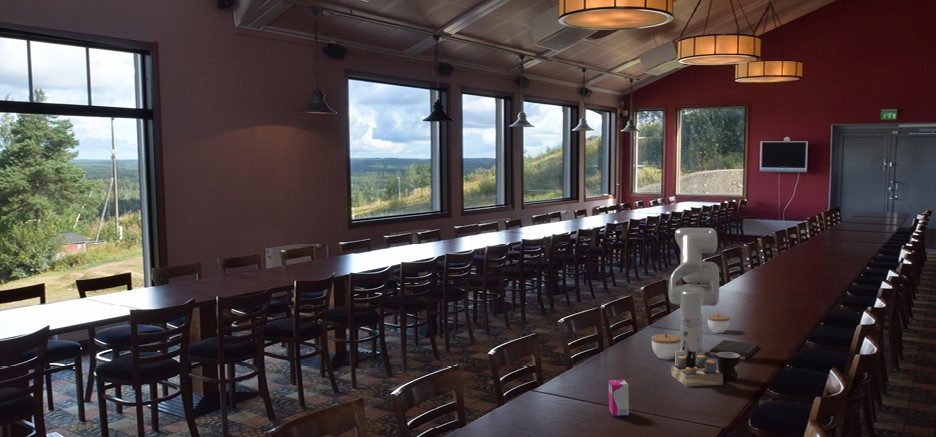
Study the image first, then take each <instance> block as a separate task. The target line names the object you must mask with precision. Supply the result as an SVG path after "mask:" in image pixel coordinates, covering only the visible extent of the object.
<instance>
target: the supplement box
mask: <svg viewBox="0 0 936 437" xmlns="http://www.w3.org/2000/svg"><path fill="white" fill-rule="evenodd" d="M629 403H630V402H629V383H628V382H627V381H626V380H625V379H611V380H610V379H609V380H608V411H609V413H610V414H611V416H612V418H616V417H617V418H618V417H619V418H620V417H621V418H622V417H629V415H630V411H629V410H630V406H629Z"/></svg>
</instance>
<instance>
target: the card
mask: <svg viewBox="0 0 936 437" xmlns="http://www.w3.org/2000/svg"><path fill="white" fill-rule="evenodd" d="M679 356H686V355H684V351H675V357H674V360H675V361H674V363H675V364H674V365H677V358H678V357H679ZM696 356H697V351H696Z"/></svg>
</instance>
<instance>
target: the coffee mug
mask: <svg viewBox="0 0 936 437" xmlns="http://www.w3.org/2000/svg"><path fill="white" fill-rule="evenodd" d="M716 358H717V365H718V366H717V367H718V372H720V373H721V374H723V382H731V383H734V382H736V381H737V380H738V375H739V372H738V371H739V365H740V360H741V359H740V355H739V354H737V353H732V352H720V353H717V356H716Z"/></svg>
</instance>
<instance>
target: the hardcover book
mask: <svg viewBox="0 0 936 437" xmlns="http://www.w3.org/2000/svg"><path fill="white" fill-rule="evenodd" d="M759 348H760V344H758V343H753V342H744V341H743V342H742V341H737V340H729V339H728V340H727V339H723V340H722V341H720V342H719V343H717V344H716V345H715V346H714V347H712V348H710V350H708V352H709V355H710V356H716V357H717V353H720V352H732V353H737V354H739V355H740V359H739V360H744V361H746V360H747V359H748V358H749V357H750V356H751V355H752V354H754V353H755V352H756V351H757V350H759Z"/></svg>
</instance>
